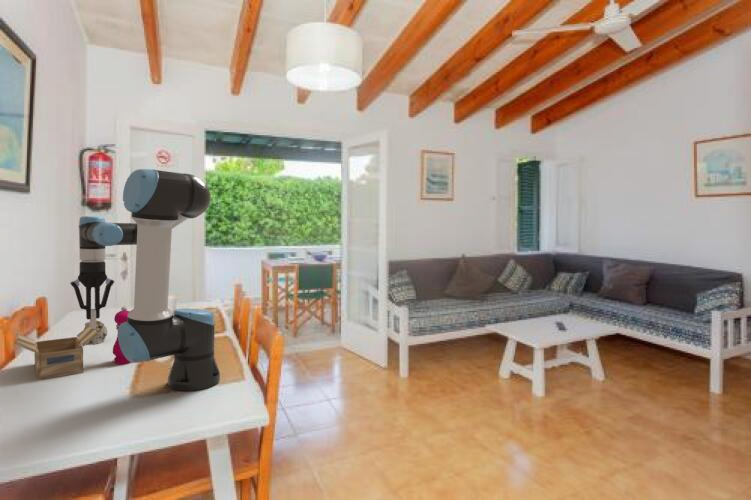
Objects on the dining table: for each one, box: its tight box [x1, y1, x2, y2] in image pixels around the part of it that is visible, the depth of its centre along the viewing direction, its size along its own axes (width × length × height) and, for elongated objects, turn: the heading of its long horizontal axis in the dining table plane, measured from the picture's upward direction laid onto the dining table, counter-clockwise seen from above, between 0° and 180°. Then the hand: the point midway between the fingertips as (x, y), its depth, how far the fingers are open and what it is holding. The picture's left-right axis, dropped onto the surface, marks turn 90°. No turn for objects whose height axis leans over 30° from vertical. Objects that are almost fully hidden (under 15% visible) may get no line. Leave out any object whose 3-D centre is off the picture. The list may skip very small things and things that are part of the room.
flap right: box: [76, 325, 98, 348], centre depth 150 cm, size 16×6×1 cm
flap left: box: [16, 332, 37, 354], centre depth 139 cm, size 16×6×1 cm
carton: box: [34, 336, 84, 381], centre depth 145 cm, size 19×12×8 cm, turn 40°
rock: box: [83, 320, 108, 345], centre depth 179 cm, size 12×7×10 cm, turn 48°
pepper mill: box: [112, 305, 133, 366], centre depth 153 cm, size 7×7×20 cm
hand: (93, 328), depth 151 cm, fingers closed
